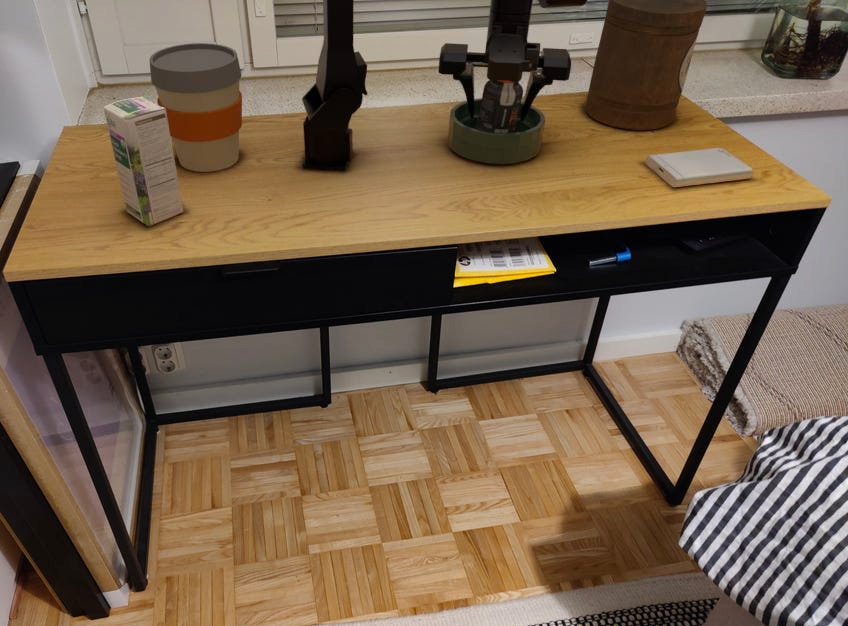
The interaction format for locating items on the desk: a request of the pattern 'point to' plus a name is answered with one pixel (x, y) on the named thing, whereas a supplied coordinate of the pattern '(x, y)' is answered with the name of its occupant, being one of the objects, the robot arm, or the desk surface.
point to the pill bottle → (500, 106)
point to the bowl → (495, 136)
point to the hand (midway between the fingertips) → (496, 119)
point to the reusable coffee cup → (200, 102)
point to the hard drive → (698, 167)
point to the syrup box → (144, 159)
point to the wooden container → (643, 61)
